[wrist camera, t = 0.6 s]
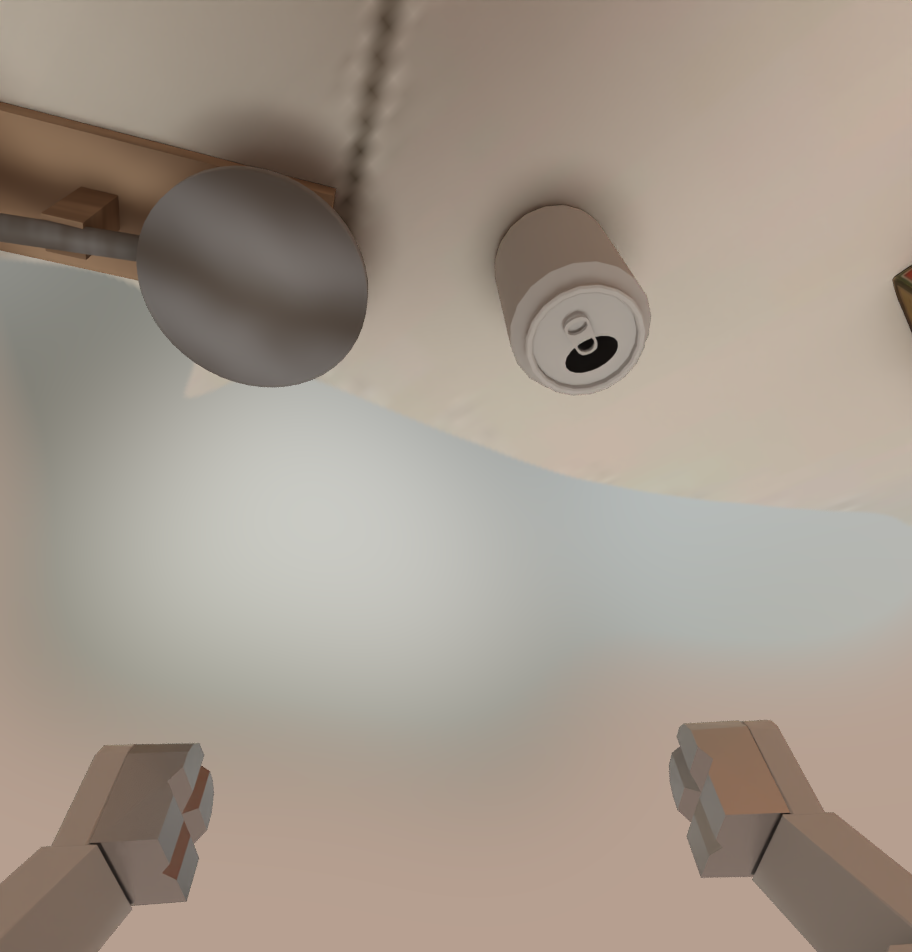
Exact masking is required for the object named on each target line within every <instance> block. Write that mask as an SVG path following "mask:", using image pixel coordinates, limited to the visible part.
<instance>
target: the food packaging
mask: <svg viewBox="0 0 912 952" xmlns="http://www.w3.org/2000/svg"><path fill="white" fill-rule="evenodd" d="M893 283H894V288H895V291H896V294H897V297H898V300H899V302H900V305H901V307H902V309H903V311H904V314H905V316H906V319H907V321H908V323H909V326H910V329H911V331H912V266H911V267H909V268H908V269H906V270H904V271H903V272H901V273H900V274H899V275H897V276H895V277H894V279H893Z"/></svg>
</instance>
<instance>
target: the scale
mask: <svg viewBox="0 0 912 952" xmlns="http://www.w3.org/2000/svg"><path fill="white" fill-rule="evenodd" d="M335 194H336V188H332V187H328V186H324V185H320V184H317V183H313V182H309V181H305V180H301V179H297V178H293V177H289V176H286V175H282V174H279V173H276V172H273V171H270V170H267V169H262V168H256V167H251V166H247V165H243V164H239V163H235V162H231V161H228V160H224V159H220V158H216V157H212V156H208V155H204V154H200V153H197V152H193V151H189V150H185V149H181V148H177V147H173V146H169V145H166V144H162V143H158V142H154V141H150V140H146V139H142V138H139V137H135V136H131V135H127V134H123V133H119V132H115V131H111V130H108V129H104V128H100V127H96V126H92V125H88V124H84V123H80V122H77V121H73V120H69V119H65V118H61V117H57V116H53V115H49V114H46V113H42V112H38V111H34V110H30V109H26V108H22V107H19V106H15V105H11V104H7V103H3V102H0V250H1V251H6V252H11V253H15V254H20V255H24V256H29V257H33V258H38V259H43V260H47V261H52V262H56V263H61V264H65V265H70V266H75V267H79V268H84V269H88V270H93V271H97V272H102V273H107V274H111V275H116V276H120V277H125V278H129V279H134V280H138V281H139V285H140V289H141V293H142V295H143V298H144V300H145V303H146V306H147V308H148V310H149V311H150V313H151V315H152V317H153V319H154V321H155V322H156V323H157V325H158V326H159V328H160V329H161V331H162V332H163V333H164V334H165V336H166V337H167V338H168V339H169V340H170V341H171V343H172V344H173V345H174V346H176V347H177V348H178V349H179V350H180V351H181V352H182V353H183V354H184V355H186V356H187V357H188V358H189V359H191V360H192V361H193V362H195V363H196V364H198V365H200V366H201V367H203V368H204V369H206V370H208V371H210V372H212V373H214V374H216V375H218V376H220V377H223V378H226V379H228V380H231V381H234V382H238V383H242V384H246V385H251V386H259V387H285V386H291V385H297V384H301V383H304V382H307V381H310V380H313V379H315V378H317V377H319V376H321V375H323V374H325V373H326V372H328V371H329V370H331V369H332V368H334V367H335V366H336V365H337V364H338V363H339V362H340V361H341V360H343V358H344V357H345V356H346V355H347V354H348V353H349V351H350V350H351V349H352V347H353V345H354V344H355V342H356V340H357V339H358V336H359V334H360V332H361V329H362V326H363V322H364V319H365V314H366V308H367V300H368V280H367V274H366V268H365V264H364V261H363V257H362V254H361V252H360V249H359V247H358V245H357V242H356V240H355V238H354V237H353V235H352V233H351V232H350V230H349V228H348V227H347V225H346V224H345V223H344V221H343V220H342V219H341V217H340V216H339V215H338V214H337V212H336V211H335V210H334V209H333V208H334V201H335Z"/></svg>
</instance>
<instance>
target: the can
mask: <svg viewBox="0 0 912 952" xmlns="http://www.w3.org/2000/svg"><path fill="white" fill-rule="evenodd" d="M495 279H496V284H497V288H498V293H499V297H500V301H501V306H502V310H503V314H504V319H505V323H506V328H507V332H508V336H509V341H510V345H511V348H512V351H513V353H514V356H515V359H516V361H517V364H518V365H519V366H520V367H521V369H522V370H523V371H524V372H525V373H526V374H527V375H528V377H529V378H531V379H532V380H534V381H536V382H538V383H539V384H541V385H543V386H545V387H547V388H550V389H552V390H553V391H555V392H559V393H564V394H568V395H585V394H593V393H595V392H598V391H601V390H604V389H607V388H609V387H611V386H612V385H614V384H615V383H617V382H618V381H620V380H621V379H623V378H624V377H625V376H626V375H627V374H628V373H629V372H630V370H631V369H632V368H633V367H634V366H635V365H636V364H637V362H638V359H639V357H640V355H641V353H642V351H643V349H644V346H645V342H646V340H647V338H648V335H649V327H650V320H651V312H650V308H649V303H648V298H647V295H646V294H645V292H644V291H643V289H642V288H641V286H640V285H639V283H638V282H637V280H636V279H635V277H634V276H633V274H632V273H631V271H630V270H629V268H628V267H627V265H626V264H625V262H624V261H623V259H622V258H621V256H620V255H619V253H618V252H617V250H616V249H615V247H614V246H613V244H612V243H611V241H610V240H609V238H608V237H607V235H606V234H605V232H604V231H603V229H602V228H601V226H600V225H599V223H598V222H597V220H596V219H594V218H593V217H591V216H590V215H588V214H587V213H586V212H584V211H583V210H581V209H577V208H573V207H570V206H566V205H557V206H545V207H542V208H540V209H537V210H535V211H532V212H530V213H528V214H526V215H525V216H523V217H522V218H521V219H520V220H518V221H517V222H516V223H515V224H514V225H512V226H511V227H510V229H509V230H508V232H507V233H506V235H505V236H504V238H503V239H502V241H501V242H500V245H499V249H498V252H497V255H496V259H495Z"/></svg>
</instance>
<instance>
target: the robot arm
mask: <svg viewBox="0 0 912 952" xmlns="http://www.w3.org/2000/svg"><path fill="white" fill-rule="evenodd" d="M677 739H678V742H679V744H680V747H679V748H678V749H676V750H675V751H674V752H673V753H672V755H671V759H670V763H669V774H670V775H669V777H670V785H671V790H672V794H673V798H674V801H675V803H676V807H677V810H679V812H680V813H681V814H683V815H684V816H685V817H686V818H687V819H688V820H689V821H690V822H691V825H690V827H689V831H688V834H687V839H688V842H689V844H690V848H691V850H692V853H693V856H694V859H695V862H696V865H697V867H698V870H699V873H700V876H701V878H703V877H704V878H705V877H753V879H752V880H753V881H754V882H755V883H756V884H757V885H758V887H759V888H760V889H761V890H762V891H763V892H764V893H765V894H766V895H767V897H768V898H769V899H770V900H771V901H772V902H773V903H774V904H775V905H776V907H777V908H778V909H779V910H780V911H781V912H782V913H783V914H784V915H785V916H786V918H787V919H788V920H789V921H790V922H791V923H792V924H793V925H794V926H795V928H796V929H797V930H798V931H799V932H800V933H801V934H802V935H803V936H804V938H806V940H807V941H808V942H809V943H810V944H811V945H812V946H813V947H814V949H816V951H817V952H912V875H911V874H910V873H909V872H908V871H907V870H905V869H904V868H903V867H902V866H900V865H899V864H898V863H897V862H895V861H894V860H893V859H892V858H890V857H889V856H888V855H887V854H885V853H884V852H883V851H882V850H880V849H879V848H878V847H876V846H875V845H874V844H873V843H872V842H870V841H869V840H868V839H867V838H865V837H864V836H863V835H861V834H860V833H859V832H858V831H856V830H855V829H854V828H852V826H850V825H849V824H848V823H847V822H845V821H844V820H843V819H841V818H840V817H839V816H838V815H836V814H835V813H833V812H832V813H831V812H830V813H829V812H828V813H827V812H824V810H823V808H822V806H821V804H820V803H819V801H818V799H817V797H816V795H815V793H814V792H813V790H812V788H811V786H810V784H809V782H808V781H807V779H806V777H805V775H804V773H803V772H802V770H801V768H800V766H799V764H798V762H797V760H796V759H795V757H794V755H793V753H792V751H791V750H790V748H789V746H788V744H787V742H786V741H785V739H784V737H783V735H782V733H781V731H780V729H779V728H778V726H777V725H776V724H775V723H774V722H772V721H770V720H757V721H720V722H705V723H704V722H703V723H685V724H683V725H681V726H680V727H679V730H678V734H677ZM203 757H204V753H203V751H202V748H201V746H200V744H199V743H178V744H177V743H176V744H128V745H104V746H103V747H102V748H101V749H100V750H99V752H98V753H97V754H96V755H95V756H94V758H93V760H92V762H91V764H90V767H89V769H88V771H87V773H86V775H85V777H84V779H83V781H82V783H81V785H80V787H79V789H78V791H77V794H76V796H75V798H74V800H73V802H72V804H71V806H70V808H69V810H68V812H67V814H66V817H65V818H64V821H63V823H62V825H61V827H60V829H59V831H58V833H57V835H56V837H55V840H54V841H53V843H52V846H46V847H41V848H40V849H39V850H37V851H36V852H35V853H34V854H33V855H32V856H31V857H30V858H28V859H27V860H26V861H25V862H24V863H23V864H22V865H21V866H20V867H18V868H17V869H16V870H15V871H14V872H13V873H12V874H11V875H9V876H8V877H7V878H6V879H5V880H4V881H3V882H2V883H1V884H0V952H98V951H99V950H100V949H101V947H102V946H103V945H104V944H105V942H106V941H107V940H108V939H109V937H110V936H111V935H112V934H113V932H114V931H115V930H116V929H117V928H118V926H119V925H120V924H121V923H122V921H123V920H124V919H125V918H126V916H127V915H128V914H129V913H130V911H131V910H132V907H131V906H135V905H148V904H161V903H175V902H186V901H187V898H188V894H189V891H190V888H191V884H192V881H193V877H194V874H195V870H196V867H197V863H198V859H199V857H198V854H197V851H196V849H195V846H194V843H195V842H196V841H197V840H198V839H199V838H200V837H201V836H202V835H203V834H204V833H205V832H206V830H207V828H208V824H209V821H210V817H211V813H212V806H213V796H214V790H213V780H212V776H211V774H210V771H209V770H207V769H205V768H204V767H203V766H201V764H202V761H203Z"/></svg>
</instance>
